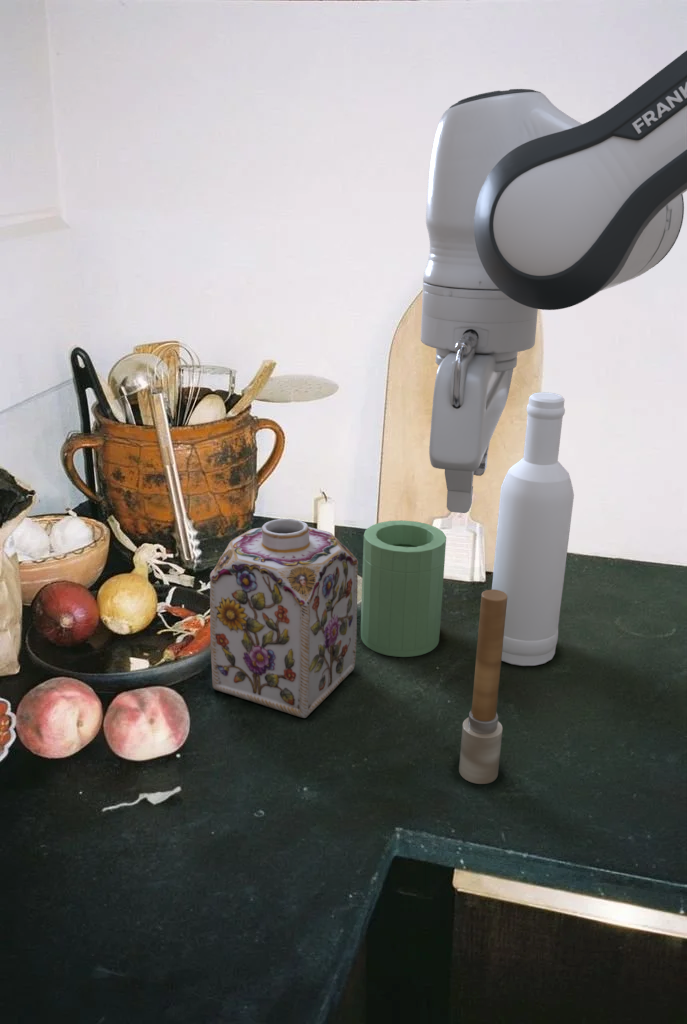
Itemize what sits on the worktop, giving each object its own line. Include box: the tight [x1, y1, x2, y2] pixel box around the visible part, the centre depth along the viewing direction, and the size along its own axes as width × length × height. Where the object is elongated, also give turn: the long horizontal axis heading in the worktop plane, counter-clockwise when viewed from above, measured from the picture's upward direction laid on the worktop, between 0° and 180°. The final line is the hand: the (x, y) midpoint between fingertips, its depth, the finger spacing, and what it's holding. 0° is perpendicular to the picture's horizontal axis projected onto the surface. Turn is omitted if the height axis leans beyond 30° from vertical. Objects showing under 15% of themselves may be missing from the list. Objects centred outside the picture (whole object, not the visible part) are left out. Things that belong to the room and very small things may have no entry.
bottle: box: [491, 391, 575, 667], centre depth 103 cm, size 8×8×30 cm
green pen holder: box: [360, 520, 447, 658], centre depth 108 cm, size 9×9×13 cm
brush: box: [458, 589, 507, 785], centre depth 83 cm, size 4×4×18 cm
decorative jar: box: [209, 518, 359, 719], centre depth 97 cm, size 12×12×18 cm
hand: (467, 490), depth 77 cm, fingers open, 8 cm apart
